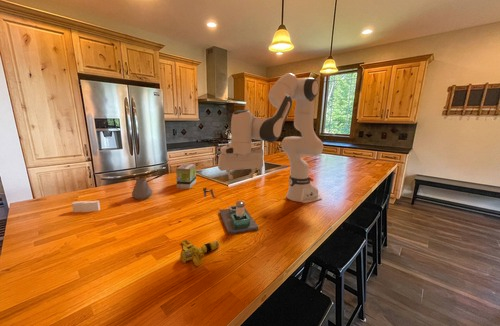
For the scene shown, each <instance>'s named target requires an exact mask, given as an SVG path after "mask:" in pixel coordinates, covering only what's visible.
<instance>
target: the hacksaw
mask: <svg viewBox="0 0 500 326" xmlns="http://www.w3.org/2000/svg"><path fill="white" fill-rule="evenodd" d="M209 192H210V193H211V196H212V199H213V200H216V199H218V198H216V196H215V195H214V189H213V188H212V189H209V190H208V188H207V187H204V188H203V194H204V197H207V193H209ZM220 200H221V201H222V198H220Z"/></svg>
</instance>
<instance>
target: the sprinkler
mask: <svg viewBox="0 0 500 326" xmlns="http://www.w3.org/2000/svg"><path fill="white" fill-rule="evenodd" d="M180 243H181V245H182V249H183V250H182V251H180V256H179V260H181V262H182V263H184V264H186V262H188V261H191V260H192V262H193V264H194V265H195V266H196V267H198V266H200V265H201V263H202V261H201V259H205V253H209V252H211V251H214V250H216V249H218V248H219V247H220V242H219V241H218V240H214V241H211V242H207V243H205V244H204V245H202V246H200V248H199V247H198V246H196V245H194V244H193V243H192V242H191V241H189V240H188V239H184V240H181V242H180ZM186 243H187V244H186Z"/></svg>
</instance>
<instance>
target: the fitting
mask: <svg viewBox="0 0 500 326" xmlns="http://www.w3.org/2000/svg"><path fill="white" fill-rule="evenodd" d="M245 203H246V202H245V201H243V200H238V201H236V202H235V205H236V220H242V219H245V208H246V205H245Z"/></svg>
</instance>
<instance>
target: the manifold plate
mask: <svg viewBox="0 0 500 326" xmlns="http://www.w3.org/2000/svg"><path fill="white" fill-rule="evenodd" d="M218 211H219V212H218V213H219V215H220V218H221V220H222V222H223V226H224V227H225V231H226V233H227V235H229V236H230V235H234V234H239V233H241V234H242V233H246V232H253V231H259V225H258V224H257V222H256V221H255V220H254V218H253V217H252V216H251V215H252V214H250V213H249V212H248V210H247V208H246V207H245V219H242V220H236V204H235V205H230V206H228V208H224V209H219V210H218Z"/></svg>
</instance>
